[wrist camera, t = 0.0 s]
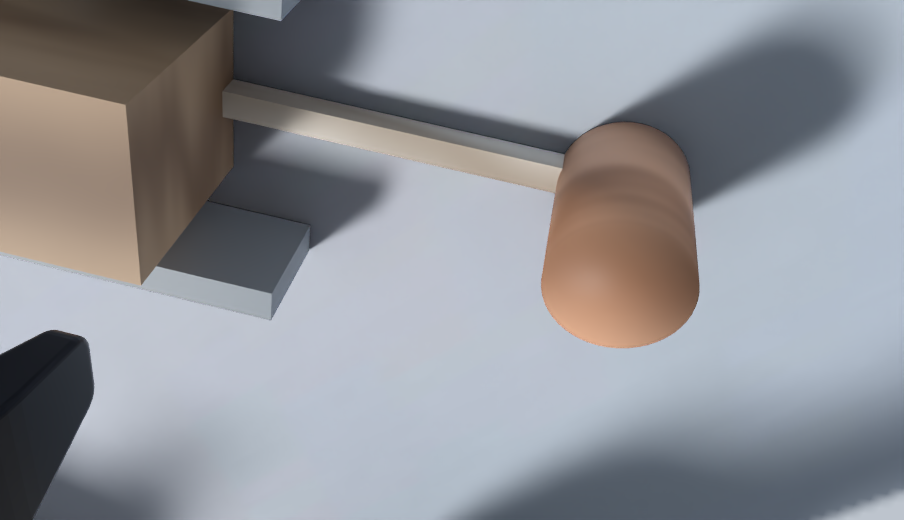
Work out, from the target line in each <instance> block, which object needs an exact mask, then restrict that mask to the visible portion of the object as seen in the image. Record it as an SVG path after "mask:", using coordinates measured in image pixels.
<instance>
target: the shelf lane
mask: <svg viewBox="0 0 904 520" xmlns="http://www.w3.org/2000/svg"><path fill="white" fill-rule="evenodd" d="M188 1H193V2H197V3H202V4H206V5H211V6H215V7H220V8H224V9H229V10H233V11H238V12H242V13H247V14H251V15H256V16H260V17H265V18H269V19H274V20H278V21H282V20H283V18H284V17H285V16H286V15H287V14H288V13H289V12H290V11H291V10H292V9H293V8H294V7H295V6H296V5H297V4H298V3H299V2H300V0H188ZM309 240H310V225H307V224H302V223H298V222H294V221H290V220H285V219H281V218H277V217H273V216H268V215H264V214H260V213H255V212H251V211H247V210H243V209H238V208H234V207H230V206H226V205H221V204H217V203H213V202H209V201H206V203H205V204H204V205H203V206H202V208H201V209H200V210H199V212H198V213H197V214H196V215H195V217H194V218H193V219H192V221H191V222H190V223H189V225H188V226H187V227H186V228H185V230H184V231H183V232H182V234H181V235H180V236H179V237H178V239H177V240H176V241H175V243H174V244H173V245H172V246H171V248H170V249H169V250H168V252H167V253H166V254H165V255H164V257H163V258H162V259H161V261H160V262H159V263H158V264H157V266H156V267H155V268H154V270H153V271H152V272H151V274H150V275H149V276H148V277H147V279H146V280H145V281H144V283H143V284H142V285H141V286H140V285H136V284H132V283H128V282H123V281H119V280H115V279H111V278H107V277H103V276H99V275H94V274H90V273H86V272H82V271H78V270H74V269H70V268H65V267H61V266H57V265H53V264H49V263H45V262H41V261H36V260H32V259H28V258H24V257H20V256H16V255H11V254H7V253H3V252H0V255H1V256H5V257H10V258H14V259H18V260H22V261H26V262H30V263H34V264H39V265H43V266H47V267H51V268H55V269H59V270H63V271H68V272H72V273H76V274H80V275H84V276H88V277H93V278H97V279H101V280H105V281H109V282H113V283H117V284H122V285H126V286H130V287H134V288H138V289H142V290H147V291H151V292H155V293H159V294H163V295H167V296H171V297H176V298H180V299H184V300H188V301H192V302H196V303H201V304H205V305H209V306H213V307H217V308H221V309H225V310H230V311H234V312H238V313H242V314H246V315H250V316H255V317H259V318H263V319H267V320H271V319H272V317H273V316H274V314H275V312H276V310H277V308H278V306H279V305H280V303H281V301H282V299H283V297H284V295H285V294H286V292H287V290H288V288H289V286H290V284H291V282H292V281H293V279H294V277H295V275H296V273H297V271H298V270H299V268H300V266H301V264H302V262H303V260H304V259H305V257H306V255H307V253H308V251H309Z"/></svg>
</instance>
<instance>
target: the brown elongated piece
mask: <svg viewBox="0 0 904 520" xmlns="http://www.w3.org/2000/svg"><path fill="white" fill-rule="evenodd" d="M233 119H234V120H239V121H243V122H247V123H252V124H256V125H260V126H265V127H269V128H273V129H278V130H282V131H286V132H291V133H295V134H300V135H304V136H308V137H313V138H317V139H321V140H326V141H330V142H334V143H339V144H343V145H348V146H352V147H356V148H361V149H365V150H369V151H374V152H378V153H382V154H387V155H391V156H396V157H400V158H404V159H409V160H413V161H417V162H422V163H426V164H430V165H435V166H439V167H443V168H448V169H452V170H457V171H461V172H465V173H470V174H474V175H478V176H483V177H487V178H491V179H496V180H500V181H505V182H509V183H513V184H518V185H522V186H526V187H531V188H535V189H539V190H544V191H548V192H552V193H555V198H554V204H553V210H552V216H551V223H550V229H549V235H548V241H547V248H546V254H545V260H544V266H543V273H542V279H541V289H542V296H543V299H544V302H545V305H546V307H547V309H548V311H549V312H550V314H551V315H552V317H553V318H554V319H555V320H556V321H557V323H558V324H559V325H561V326H562V327H563V328H564V329H565V330H566V331H568V332H569V333H571V334H572V335H574V336H576V337H578V338H580V339H582V340H584V341H587V342H589V343H592V344H596V345H599V346H604V347H611V348H633V347H640V346H645V345H649V344H652V343H655V342H658V341H660V340H662V339H664V338H666V337H668V336H670V335H671V334H673V333H674V332H676V331H677V330H678V329H679V328H681V327H682V326H683V325H684V324H685V323H686V322H687V320H688V319H689V317H690V316H691V315H692V313H693V311H694V309H695V307H696V304H697V301H698V297H699V273H698V262H697V250H696V238H695V227H694V215H693V203H692V192H691V180H690V171H689V165H688V162H687V159H686V157H685V155H684V153H683V151H682V150H681V149H680V147H679V146H678V145H677V144H676V143H675V142H674V141H673V140H672V139H671V138H670V137H669V136H667V135H666V134H665V133H663V132H661V131H660V130H658V129H655V128H653V127H651V126H648V125H644V124H640V123H634V122H615V123H610V124H605V125H602V126H599V127H596V128H594V129H592V130H590V131H588V132H586V133H585V134H583V135H582V136H580V137H579V138H578V139H577V140H576V141H575V142H574V143H573V144H572V145H571V146H570V147H569V149H568V150H567V151H566V153H565V154H561V153H557V152H552V151H548V150H544V149H539V148H535V147H530V146H526V145H521V144H517V143H513V142H508V141H504V140H499V139H495V138H491V137H486V136H482V135H477V134H473V133H469V132H464V131H460V130H455V129H451V128H447V127H442V126H438V125H433V124H429V123H424V122H420V121H416V120H411V119H407V118H402V117H398V116H394V115H389V114H385V113H380V112H376V111H372V110H367V109H363V108H358V107H354V106H350V105H345V104H341V103H336V102H332V101H327V100H323V99H319V98H314V97H310V96H305V95H301V94H297V93H292V92H288V91H283V90H279V89H275V88H270V87H266V86H261V85H257V84H253V83H248V82H244V81H239V80H235V79H233V10H229V9H224V8H220V7H215V6H211V5H206V4H202V3H197V2H193V1H188V0H0V252H3V253H7V254H11V255H16V256H20V257H24V258H28V259H32V260H36V261H41V262H45V263H49V264H53V265H57V266H61V267H65V268H70V269H74V270H78V271H82V272H86V273H90V274H94V275H99V276H103V277H107V278H111V279H115V280H119V281H123V282H128V283H132V284H136V285H140V286H141V285H142V284H143V283H144V281H145V280H146V279H147V277H148V276H149V275H150V274H151V272H152V271H153V270H154V268H155V267H156V266H157V264H158V263H159V262H160V261H161V259H162V258H163V257H164V255H165V254H166V253H167V252H168V250H169V249H170V248H171V246H172V245H173V244H174V243H175V241H176V240H177V239H178V237H179V236H180V235H181V234H182V232H183V231H184V230H185V228H186V227H187V226H188V225H189V223H190V222H191V221H192V219H193V218H194V217H195V215H196V214H197V213H198V212H199V210H200V209H201V208H202V206H203V205H204V204H205V203H206V201H207V200H208V199H209V197H210V196H211V195H212V194H213V192H214V191H215V190H216V188H217V187H218V186H219V185H220V183H221V182H222V181H223V179H224V178H225V177H226V175H227V174H228V173H229V172H230V170H231V169H232V168H233Z"/></svg>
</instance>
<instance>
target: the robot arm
mask: <svg viewBox="0 0 904 520" xmlns="http://www.w3.org/2000/svg"><path fill="white" fill-rule="evenodd" d="M93 394H94V379H93V372H92V364H91V356H90V349H89V344H88V342H87V341H86V339H85V338H83V337H81V336H78V335H74V334H70V333H66V332H62V331H58V330H50V331H46V332H44V333H41V334H39V335H37V336H35V337H33V338H32V339H30V340H28V341H26V342H24V343H22V344H20V345H18V346H16V347H14V348H12V349H10V350H8V351H6V352H4V353H2V354H0V520H33V518H34V516H35V514H36V512H37V511H38V509H39V507H40V505H41V503H42V501H43V499H44V497H45V495H46V493H47V491H48V489H49V487H50V485H51V483H52V481H53V479H54V477H55V475H56V473H57V471H58V469H59V467H60V465H61V463H62V461H63V459H64V457H65V455H66V453H67V451H68V449H69V447H70V445H71V443H72V441H73V439H74V437H75V435H76V433H77V431H78V429H79V427H80V425H81V423H82V421H83V419H84V417H85V415H86V413H87V411H88V409H89V407H90V404H91V402H92V399H93Z"/></svg>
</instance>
